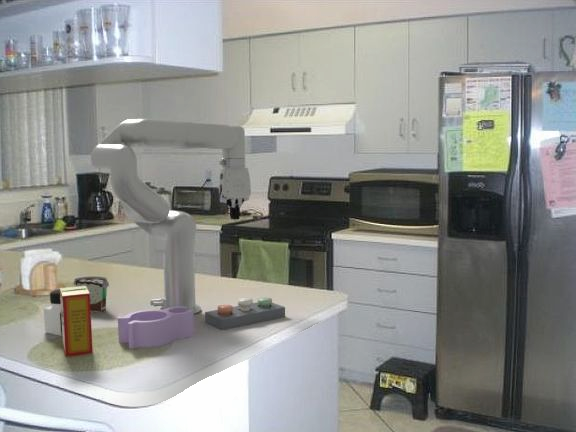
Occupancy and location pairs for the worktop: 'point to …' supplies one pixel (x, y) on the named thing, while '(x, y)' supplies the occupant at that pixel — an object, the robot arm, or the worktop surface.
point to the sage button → (264, 302)
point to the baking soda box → (76, 320)
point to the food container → (95, 291)
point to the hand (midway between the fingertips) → (234, 218)
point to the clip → (155, 326)
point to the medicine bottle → (53, 314)
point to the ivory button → (245, 304)
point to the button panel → (244, 316)
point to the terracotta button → (225, 309)
